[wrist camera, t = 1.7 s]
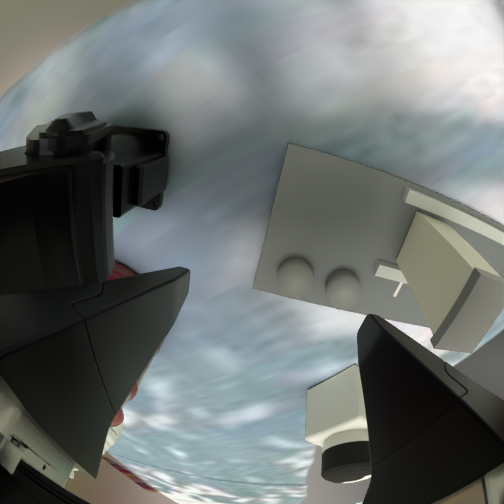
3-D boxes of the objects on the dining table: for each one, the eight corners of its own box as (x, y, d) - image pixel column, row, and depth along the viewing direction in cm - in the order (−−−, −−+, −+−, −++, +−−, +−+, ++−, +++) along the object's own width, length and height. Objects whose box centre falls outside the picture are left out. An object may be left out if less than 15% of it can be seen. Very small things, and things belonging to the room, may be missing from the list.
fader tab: (392, 262, 20) (433, 348, 12) (415, 207, 18) (480, 274, 10) (425, 272, 20) (471, 353, 12) (448, 220, 18) (515, 287, 10)
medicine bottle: (305, 389, 30) (300, 480, 20) (354, 362, 27) (364, 462, 17) (340, 409, 32) (341, 489, 21) (385, 386, 29) (398, 472, 18)
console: (253, 283, 24) (246, 310, 21) (288, 142, 19) (286, 148, 15) (464, 329, 23) (477, 352, 20) (517, 234, 18) (538, 251, 14)
